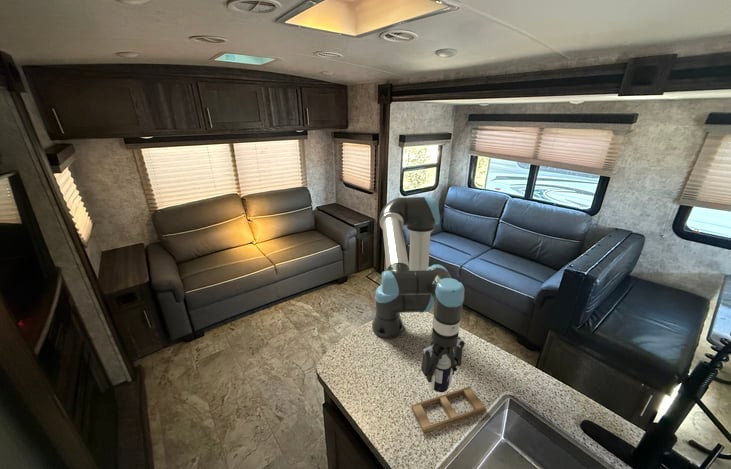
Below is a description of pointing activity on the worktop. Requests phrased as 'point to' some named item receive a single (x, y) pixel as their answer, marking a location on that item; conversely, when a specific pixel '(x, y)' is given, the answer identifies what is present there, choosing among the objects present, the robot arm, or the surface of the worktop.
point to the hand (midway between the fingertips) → (439, 384)
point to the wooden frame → (447, 409)
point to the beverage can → (442, 374)
